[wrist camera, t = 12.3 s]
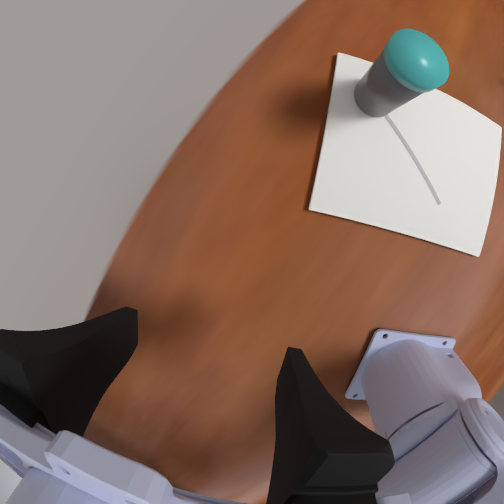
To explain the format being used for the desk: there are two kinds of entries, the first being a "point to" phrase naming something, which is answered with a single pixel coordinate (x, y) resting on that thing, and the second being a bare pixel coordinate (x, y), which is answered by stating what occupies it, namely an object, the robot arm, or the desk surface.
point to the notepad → (408, 164)
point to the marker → (401, 73)
